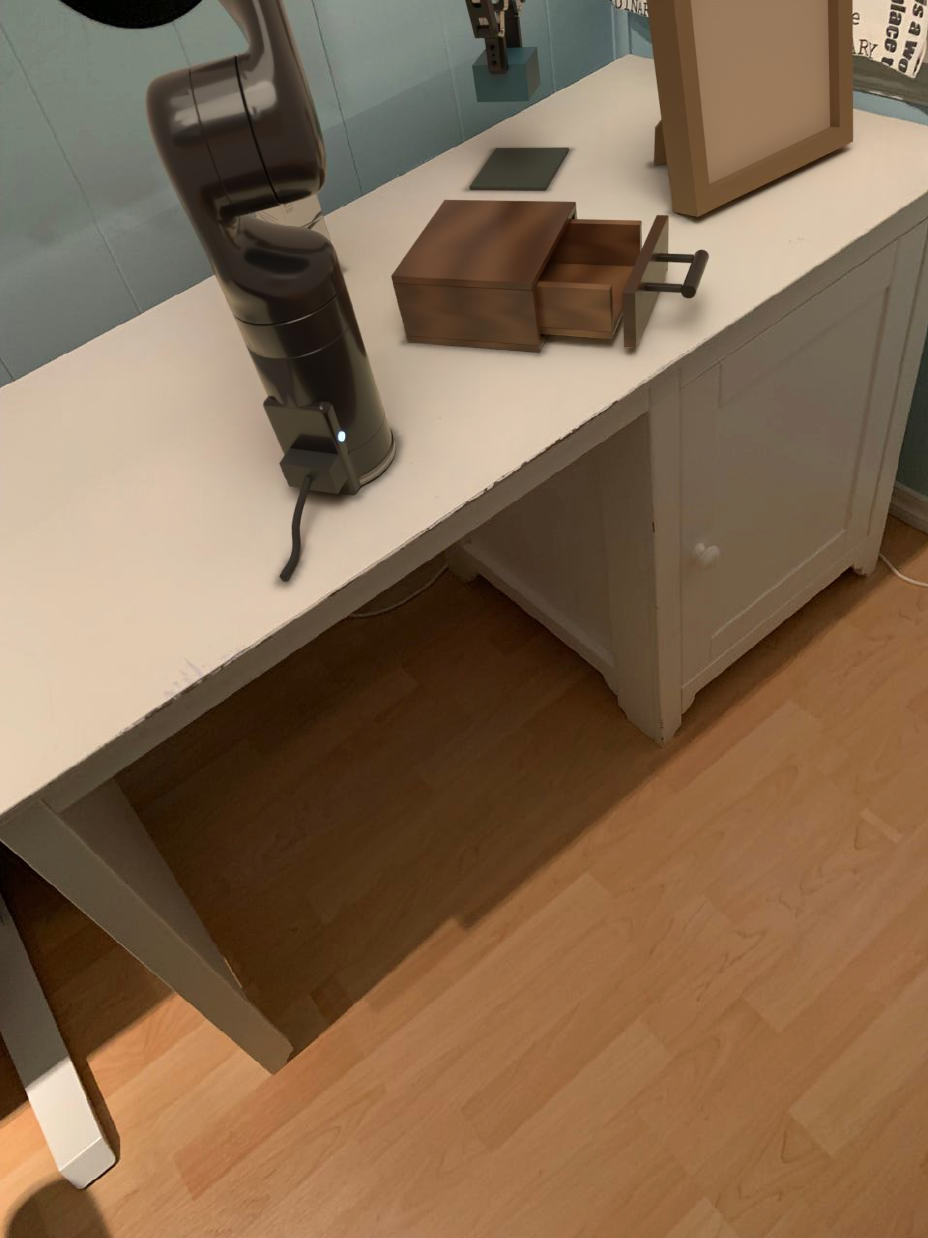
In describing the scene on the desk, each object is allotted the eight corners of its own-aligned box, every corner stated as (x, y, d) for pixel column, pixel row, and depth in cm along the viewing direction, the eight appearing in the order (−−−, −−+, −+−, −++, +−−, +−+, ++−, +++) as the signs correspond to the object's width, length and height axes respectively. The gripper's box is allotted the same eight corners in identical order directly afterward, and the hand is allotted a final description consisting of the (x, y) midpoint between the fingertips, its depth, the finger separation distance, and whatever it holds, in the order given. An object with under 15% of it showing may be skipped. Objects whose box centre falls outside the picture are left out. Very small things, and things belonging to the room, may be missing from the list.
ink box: (343, 270, 103) (312, 169, 94) (308, 290, 102) (274, 189, 92) (305, 248, 108) (272, 150, 99) (271, 267, 106) (235, 169, 97)
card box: (528, 101, 102) (524, 63, 99) (477, 102, 104) (471, 65, 101) (540, 83, 104) (537, 46, 101) (489, 85, 106) (484, 48, 103)
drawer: (714, 271, 88) (717, 215, 84) (686, 351, 81) (687, 295, 77) (543, 264, 95) (537, 212, 90) (503, 338, 88) (494, 285, 83)
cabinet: (581, 270, 94) (576, 201, 89) (540, 352, 87) (531, 282, 81) (457, 264, 99) (444, 199, 94) (407, 342, 92) (390, 275, 86)
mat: (545, 190, 107) (545, 186, 106) (469, 189, 110) (469, 186, 110) (569, 150, 112) (568, 147, 112) (496, 150, 115) (495, 147, 115)
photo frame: (851, 150, 100) (897, -128, 81) (697, 225, 96) (707, -49, 77) (762, 113, 109) (784, -145, 90) (617, 180, 105) (608, -75, 86)
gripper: (495, -104, 83) (517, 90, 96) (541, -150, 91) (555, 35, 104) (423, -96, 86) (454, 92, 99) (474, -142, 93) (496, 38, 107)
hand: (506, 62), depth 101 cm, fingers closed on card box, 4 cm apart
